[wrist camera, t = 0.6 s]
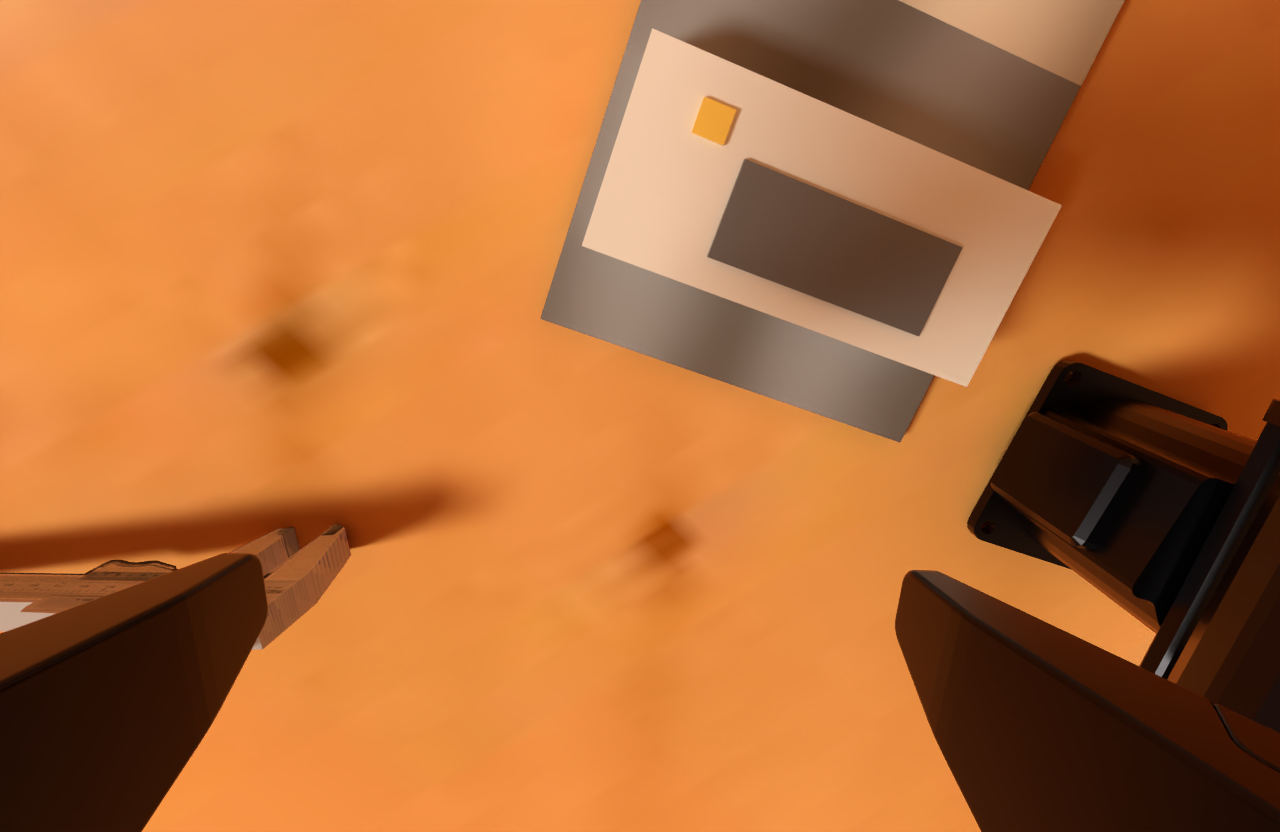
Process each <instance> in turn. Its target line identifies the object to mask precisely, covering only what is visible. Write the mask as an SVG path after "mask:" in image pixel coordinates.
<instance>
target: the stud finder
mask: <svg viewBox="0 0 1280 832" xmlns="http://www.w3.org/2000/svg"><path fill="white" fill-rule="evenodd" d="M1061 207H1062V205H1060V204H1058V203H1056V202H1053V201H1051V200H1049V199H1047V198H1044V197H1042V196H1040V195H1037V194H1035V193H1033V192H1030V191H1028V190H1026V189H1023V188H1021V187H1019V186H1016V185H1014V184H1012V183H1009V182H1007V181H1005V180H1003V179H1000V178H998V177H996V176H993V175H991V174H989V173H986V172H984V171H982V170H979V169H977V168H975V167H972V166H970V165H968V164H965V163H963V162H961V161H959V160H956V159H954V158H952V157H949V156H947V155H945V154H942V153H940V152H938V151H935V150H933V149H931V148H928V147H926V146H924V145H921V144H919V143H917V142H915V141H912V140H910V139H908V138H905V137H903V136H901V135H898V134H896V133H894V132H891V131H889V130H887V129H884V128H882V127H880V126H877V125H875V124H873V123H871V122H868V121H866V120H864V119H861V118H859V117H857V116H854V115H852V114H850V113H847V112H845V111H843V110H840V109H838V108H836V107H834V106H831V105H829V104H827V103H824V102H822V101H820V100H817V99H815V98H813V97H810V96H808V95H806V94H803V93H801V92H799V91H796V90H794V89H792V88H790V87H787V86H785V85H783V84H780V83H778V82H776V81H773V80H771V79H769V78H766V77H764V76H762V75H759V74H757V73H755V72H752V71H750V70H748V69H746V68H743V67H741V66H739V65H736V64H734V63H732V62H729V61H727V60H725V59H722V58H720V57H718V56H715V55H713V54H711V53H708V52H706V51H704V50H702V49H699V48H697V47H695V46H692V45H690V44H688V43H685V42H683V41H681V40H678V39H676V38H674V37H671V36H669V35H667V34H664V33H662V32H660V31H658V30H655V29H653V28H652V31H651V34H650V37H649V40H648V43H647V46H646V49H645V52H644V55H643V58H642V62H641V65H640V68H639V71H638V74H637V77H636V80H635V83H634V86H633V89H632V92H631V95H630V98H629V102H628V105H627V108H626V111H625V114H624V117H623V120H622V123H621V126H620V129H619V132H618V135H617V139H616V142H615V145H614V148H613V151H612V154H611V157H610V160H609V163H608V166H607V169H606V172H605V175H604V179H603V182H602V185H601V188H600V191H599V194H598V197H597V200H596V203H595V206H594V209H593V212H592V215H591V219H590V222H589V225H588V228H587V231H586V234H585V237H584V240H583V243H582V246H583V247H586V248H589V249H592V250H594V251H597V252H600V253H603V254H605V255H608V256H611V257H613V258H616V259H619V260H622V261H624V262H627V263H630V264H633V265H635V266H638V267H641V268H643V269H646V270H649V271H652V272H654V273H657V274H660V275H663V276H665V277H668V278H671V279H673V280H676V281H679V282H682V283H684V284H687V285H690V286H692V287H695V288H698V289H701V290H703V291H706V292H709V293H712V294H714V295H717V296H720V297H722V298H725V299H728V300H731V301H733V302H736V303H739V304H742V305H744V306H747V307H750V308H752V309H755V310H758V311H761V312H763V313H766V314H769V315H772V316H774V317H777V318H780V319H782V320H785V321H788V322H791V323H793V324H796V325H799V326H802V327H804V328H807V329H810V330H812V331H815V332H818V333H821V334H823V335H826V336H829V337H832V338H834V339H837V340H840V341H842V342H845V343H848V344H851V345H853V346H856V347H859V348H862V349H864V350H867V351H870V352H872V353H875V354H878V355H881V356H883V357H886V358H889V359H892V360H894V361H897V362H900V363H902V364H905V365H908V366H911V367H913V368H916V369H919V370H921V371H924V372H927V373H930V374H932V375H935V376H938V377H941V378H943V379H946V380H949V381H951V382H954V383H957V384H960V385H962V386H965V387H967V386H968V384H969V382H970V380H971V378H972V376H973V374H974V372H975V371H976V369H977V367H978V365H979V363H980V361H981V359H982V357H983V355H984V353H985V352H986V350H987V348H988V346H989V344H990V342H991V340H992V338H993V336H994V334H995V332H996V331H997V329H998V327H999V325H1000V323H1001V321H1002V319H1003V317H1004V315H1005V313H1006V311H1007V310H1008V308H1009V306H1010V304H1011V302H1012V300H1013V298H1014V296H1015V294H1016V292H1017V290H1018V289H1019V287H1020V285H1021V283H1022V281H1023V279H1024V277H1025V275H1026V273H1027V271H1028V270H1029V268H1030V266H1031V264H1032V262H1033V260H1034V258H1035V256H1036V254H1037V252H1038V250H1039V249H1040V247H1041V245H1042V243H1043V241H1044V239H1045V237H1046V235H1047V233H1048V231H1049V229H1050V228H1051V226H1052V224H1053V222H1054V220H1055V218H1056V216H1057V214H1058V212H1059V210H1060V208H1061Z"/></svg>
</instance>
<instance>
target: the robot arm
mask: <svg viewBox="0 0 1280 832" xmlns="http://www.w3.org/2000/svg"><path fill="white" fill-rule="evenodd" d="M1071 371H1072V373H1073V374H1072V377H1071V379H1070V380H1069V381H1067V382H1066V380H1065V379H1066V376H1067V375H1068V373H1069V372H1071ZM1263 420H1264V421H1266V422H1267V423H1266V425H1265V427H1264V429H1263V431H1262V433H1261V435H1260V437H1259V439H1258V441H1254V440H1252V439H1249V438H1246V437H1243V436H1240V435H1237V434H1235V433H1232V432H1229V431H1227V423H1226V420H1224V419H1223V418H1222V417H1219V416H1216V415H1214V414H1211V413H1209V412H1206V411H1204V410H1201V409H1198V408H1196V407H1193V406H1191V405H1188V404H1185V403H1183V402H1180V401H1178V400H1175V399H1173V398H1170V397H1167V396H1165V395H1162V394H1160V393H1157V392H1154V391H1152V390H1149V389H1147V388H1144V387H1141V386H1139V385H1136V384H1134V383H1131V382H1129V381H1126V380H1123V379H1121V378H1118V377H1116V376H1113V375H1110V374H1108V373H1105V372H1103V371H1100V370H1098V369H1095V368H1092V367H1090V366H1087V365H1085V364H1082V363H1079V362H1076V361H1072V360H1064V361H1061V362H1059V363H1058V364H1056V365H1055V366H1054V368H1053V369H1052V370H1051V372H1050V374H1049V376H1048V377H1047V379H1046V381H1045V383H1044V385H1043V386H1042V388H1041V390H1040V392H1039V394H1038V395H1037V397H1036V399H1035V401H1034V403H1033V404H1032V406H1031V408H1030V410H1029V411H1028V413H1027V415H1026V417H1025V419H1024V420H1023V422H1022V424H1021V426H1020V428H1019V429H1018V431H1017V433H1016V435H1015V436H1014V438H1013V440H1012V442H1011V444H1010V445H1009V447H1008V449H1007V451H1006V453H1005V454H1004V456H1003V458H1002V460H1001V462H1000V463H999V465H998V467H997V469H996V470H995V472H994V474H993V476H992V478H991V479H990V481H989V483H988V485H987V487H986V488H985V490H984V492H983V494H982V496H981V497H980V499H979V501H978V503H977V504H976V506H975V508H974V510H973V512H972V513H971V515H970V517H969V519H968V522H967V525H968V529H969V531H970V532H971V533H972V534H973V535H974V536H976V537H977V538H978V539H980V540H982V541H986V542H989V543H992V544H995V545H998V546H1001V547H1004V548H1007V549H1010V550H1013V551H1016V552H1020V553H1023V554H1026V555H1029V556H1032V557H1035V558H1038V559H1041V560H1044V561H1047V562H1050V563H1054V564H1057V565H1060V566H1063V567H1066V568H1069V569H1072V570H1073V571H1075V572H1076V573H1077V574H1079V575H1080V576H1081V577H1083V578H1084V579H1085V580H1086V581H1088V582H1089V583H1090V584H1092V585H1093V586H1094V587H1096V588H1097V589H1098V590H1100V591H1101V592H1102V593H1104V594H1105V595H1106V596H1108V597H1109V598H1110V599H1111V600H1113V601H1114V602H1115V603H1117V604H1118V605H1119V606H1121V607H1122V608H1123V609H1125V610H1126V611H1127V612H1129V613H1130V614H1131V615H1132V616H1134V617H1135V618H1136V619H1138V620H1139V621H1140V622H1142V623H1143V624H1144V625H1146V626H1147V627H1148V628H1150V629H1151V630H1152V631H1153V632H1155V633H1156V635H1155V637H1154V639H1153V641H1152V643H1151V645H1150V647H1149V649H1148V651H1147V652H1146V654H1145V656H1144V658H1143V660H1142V662H1141V664H1140V666H1137V665H1135V664H1133V663H1131V662H1129V661H1127V660H1124V659H1122V658H1120V657H1118V656H1116V655H1114V654H1112V653H1110V652H1108V651H1105V650H1103V649H1101V648H1099V647H1097V646H1095V645H1093V644H1091V643H1089V642H1086V641H1084V640H1082V639H1080V638H1078V637H1076V636H1074V635H1072V634H1070V633H1067V632H1065V631H1063V630H1061V629H1059V628H1057V627H1055V626H1053V625H1051V624H1048V623H1046V622H1044V621H1042V620H1040V619H1038V618H1036V617H1034V616H1032V615H1029V614H1027V613H1025V612H1023V611H1021V610H1019V609H1017V608H1015V607H1012V606H1010V605H1008V604H1006V603H1004V602H1002V601H1000V600H998V599H996V598H993V597H991V596H989V595H987V594H985V593H983V592H981V591H979V590H977V589H974V588H972V587H970V586H968V585H966V584H964V583H962V582H960V581H958V580H955V579H953V578H951V577H949V576H947V575H945V574H943V573H941V572H938V571H928V570H912V571H909V572H908V573H907V574H906V575H905V577H904V579H903V583H902V588H901V593H900V598H899V604H898V609H897V614H896V620H895V630H896V636H897V639H898V642H899V645H900V647H901V650H902V653H903V655H904V658H905V661H906V663H907V666H908V669H909V671H910V674H911V677H912V679H913V682H914V685H915V687H916V690H917V693H918V695H919V698H920V701H921V703H922V706H923V709H924V712H925V714H926V717H927V720H928V722H929V724H930V727H931V729H932V732H933V734H934V737H935V739H936V741H937V743H938V745H939V747H940V749H941V751H942V753H943V756H944V758H945V760H946V762H947V764H948V766H949V768H950V770H951V772H952V774H953V776H954V778H955V780H956V782H957V784H958V786H959V788H960V790H961V792H962V794H963V796H964V798H965V800H966V802H967V804H968V806H969V808H970V810H971V812H972V814H973V816H974V818H975V820H976V822H977V824H978V826H979V828H980V830H981V832H1280V400H1276V399H1273V401H1272V403H1271V404H1270V406H1269V408H1268V410H1267V412H1266V414H1265V416H1264V418H1263ZM986 521H989V522H988V525H987V526H986V527H984V528H982V529H981V526H982V524H983V523H984V522H986ZM267 614H268V602H267V596H266V589H265V583H264V576H263V569H262V564H261V561H260V559H259V558H258V557H257V556H256V555H254V554H250V553H223V554H220V555H217V556H214V557H211V558H209V559H206V560H203V561H200V562H198V563H195V564H192V565H189V566H187V567H184V568H181V569H178V570H175V571H173V572H170V573H167V574H164V575H162V576H159V577H156V578H153V579H151V580H148V581H145V582H142V583H139V584H137V585H134V586H131V587H128V588H126V589H123V590H120V591H117V592H115V593H112V594H109V595H106V596H103V597H101V598H98V599H95V600H92V601H90V602H87V603H84V604H81V605H78V606H76V607H73V608H70V609H67V610H65V611H62V612H59V613H56V614H54V615H51V616H48V617H45V618H42V619H40V620H37V621H34V622H31V623H29V624H26V625H23V626H20V627H18V628H15V629H12V630H9V631H6V632H4V633H1V634H0V832H142V830H143V829H144V827H145V826H146V824H147V823H148V821H149V820H150V818H151V817H152V815H153V814H154V812H155V811H156V809H157V808H158V806H159V804H160V803H161V801H162V800H163V798H164V797H165V795H166V794H167V792H168V791H169V789H170V788H171V786H172V785H173V783H174V782H175V780H176V779H177V777H178V776H179V774H180V773H181V771H182V770H183V768H184V767H185V765H186V764H187V762H188V761H189V759H190V757H191V756H192V754H193V753H194V751H195V750H196V748H197V747H198V745H199V744H200V742H201V741H202V739H203V737H204V736H205V734H206V733H207V731H208V729H209V728H210V726H211V725H212V723H213V721H214V719H215V717H216V716H217V714H218V712H219V710H220V709H221V707H222V705H223V703H224V701H225V699H226V697H227V695H228V694H229V692H230V690H231V688H232V686H233V684H234V682H235V680H236V678H237V676H238V674H239V673H240V671H241V669H242V667H243V665H244V663H245V661H246V659H247V657H248V655H249V654H250V652H251V650H252V648H253V646H254V644H255V642H256V640H257V638H258V636H259V635H260V633H261V631H262V629H263V627H264V625H265V622H266V619H267Z"/></svg>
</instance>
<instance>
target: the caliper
mask: <svg viewBox="0 0 1280 832" xmlns="http://www.w3.org/2000/svg"><path fill="white" fill-rule="evenodd" d="M229 553H250V554H254V555H256V556H257V557H258V558H259V559H260V561H261V564H262V569H263V576H264V583H265V589H266V596H267V602H268V614H267V619H266V622H265V625H264V627H263V629H262V631H261V633H260V635H259V636H258V638H257V640H256V642H255V644H254V646H253V648H252V649H264V648H265V647H266V646H267V645H268V644H269V643H271V642H272V641H273V640H274V639H275V638H276V637H278V636H279V635H280V634H281V633H282V632H283V631H285V630H286V629H287V628H288V627H289V626H291V625H292V624H293V623H294V622H295V621H296V620H298V619H299V618H300V617H301V616H302V615H303V614H305V613H306V612H307V611H308V610H309V609H310V608H312V607H313V606H314V605H315V604H316V603H317V602H318V600H319V599H320V598H321V596H322V595H323V593H324V592H325V591H326V589H327V588H328V587H329V585H330V584H331V583H332V581H333V580H334V578H335V577H336V576H337V574H338V573H339V572H340V570H341V569H342V568H343V566H344V565H345V563H346V562H347V560H348V559H349V557H350V556H351V552H350V548H349V544H348V539H347V535H346V531H345V528H344V527H343V526H342V525H338V524H334V525H332V526H331V527H330V528H329V529H327V530H326V531H325V532H323V533H322V534H321V535H319V536H318V537H317V538H315V539H314V540H313V541H311V542H310V543H309V544H307V545H306V546H305V547H303V548H302V549H300V548H299V544H298V540H297V536H296V532H295V529H294V527H290V528H278V529H276V530H274V531H272V532H270V533H268V534H266V535H263V536H261V537H259V538H257V539H255V540H253V541H251V542H249V543H247V544H245V545H243V546H241V547H239V548H237V549H235V550H233V551H231V552H229ZM175 570H178V569H176V566H173V565H170V564H166V563H163V562H160V561H145V562H138V563H135V562H128V561H124V560H111V561H108V562H105V563H103V564H102V565H100V566H98V567H96V568H94V569H92V570H90V571H89V572H87V573H85V574H51V573H0V631H5V632H6V631H9V630H12V629H15V628H18V627H20V626H23V625H26V624H29V623H31V622H34V621H37V620H40V619H42V618H45V617H48V616H51V615H54V614H56V613H59V612H62V611H65V610H67V609H70V608H73V607H76V606H78V605H81V604H84V603H87V602H90V601H92V600H95V599H98V598H101V597H103V596H106V595H109V594H112V593H115V592H117V591H120V590H123V589H126V588H128V587H131V586H134V585H137V584H139V583H142V582H145V581H148V580H151V579H153V578H156V577H159V576H162V575H164V574H167V573H170V572H173V571H175Z"/></svg>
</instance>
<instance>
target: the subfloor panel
mask: <svg viewBox="0 0 1280 832" xmlns="http://www.w3.org/2000/svg"><path fill="white" fill-rule="evenodd" d="M1124 1H1125V0H641V3H640V6H639V9H638V12H637V15H636V19H635V22H634V25H633V28H632V31H631V34H630V38H629V41H628V44H627V47H626V50H625V53H624V56H623V60H622V63H621V66H620V69H619V72H618V75H617V79H616V82H615V85H614V88H613V91H612V94H611V97H610V101H609V104H608V107H607V110H606V113H605V116H604V120H603V123H602V126H601V129H600V132H599V135H598V139H597V142H596V145H595V148H594V151H593V154H592V157H591V161H590V164H589V167H588V170H587V173H586V176H585V180H584V183H583V186H582V189H581V192H580V195H579V198H578V202H577V205H576V208H575V211H574V214H573V217H572V221H571V224H570V227H569V230H568V233H567V236H566V240H565V243H564V246H563V249H562V252H561V255H560V258H559V262H558V265H557V268H556V271H555V274H554V277H553V281H552V284H551V287H550V290H549V293H548V296H547V299H546V303H545V306H544V309H543V312H542V315H541V318H540V319H543V320H546V321H548V322H551V323H554V324H557V325H560V326H563V327H566V328H569V329H572V330H575V331H578V332H580V333H583V334H586V335H589V336H592V337H595V338H598V339H601V340H604V341H607V342H610V343H612V344H615V345H618V346H621V347H624V348H627V349H630V350H633V351H636V352H639V353H642V354H644V355H647V356H650V357H653V358H656V359H659V360H662V361H665V362H668V363H671V364H674V365H676V366H679V367H682V368H685V369H688V370H691V371H694V372H697V373H700V374H703V375H705V376H708V377H711V378H714V379H717V380H720V381H723V382H726V383H729V384H732V385H735V386H737V387H740V388H743V389H746V390H749V391H752V392H755V393H758V394H761V395H764V396H767V397H769V398H772V399H775V400H778V401H781V402H784V403H787V404H790V405H793V406H796V407H799V408H801V409H804V410H807V411H810V412H813V413H816V414H819V415H822V416H825V417H828V418H830V419H833V420H836V421H839V422H842V423H845V424H848V425H851V426H854V427H857V428H860V429H862V430H865V431H868V432H871V433H874V434H877V435H880V436H883V437H886V438H889V439H892V440H894V441H897V442H901V440H902V438H903V436H904V434H905V432H906V430H907V428H908V426H909V424H910V422H911V420H912V418H913V416H914V415H915V413H916V411H917V409H918V407H919V405H920V403H921V401H922V399H923V397H924V395H925V393H926V391H927V389H928V387H929V385H930V383H931V381H932V379H933V377H934V375H932V374H930V373H927V372H924V371H921V370H919V369H916V368H913V367H911V366H908V365H905V364H902V363H900V362H897V361H894V360H892V359H889V358H886V357H883V356H881V355H878V354H875V353H872V352H870V351H867V350H864V349H862V348H859V347H856V346H853V345H851V344H848V343H845V342H842V341H840V340H837V339H834V338H832V337H829V336H826V335H823V334H821V333H818V332H815V331H812V330H810V329H807V328H804V327H802V326H799V325H796V324H793V323H791V322H788V321H785V320H782V319H780V318H777V317H774V316H772V315H769V314H766V313H763V312H761V311H758V310H755V309H752V308H750V307H747V306H744V305H742V304H739V303H736V302H733V301H731V300H728V299H725V298H722V297H720V296H717V295H714V294H712V293H709V292H706V291H703V290H701V289H698V288H695V287H692V286H690V285H687V284H684V283H682V282H679V281H676V280H673V279H671V278H668V277H665V276H663V275H660V274H657V273H654V272H652V271H649V270H646V269H643V268H641V267H638V266H635V265H633V264H630V263H627V262H624V261H622V260H619V259H616V258H613V257H611V256H608V255H605V254H603V253H600V252H597V251H594V250H592V249H589V248H586V247H583V246H582V243H583V240H584V237H585V234H586V231H587V228H588V225H589V222H590V219H591V215H592V212H593V209H594V206H595V203H596V200H597V197H598V194H599V191H600V188H601V185H602V182H603V179H604V175H605V172H606V169H607V166H608V163H609V160H610V157H611V154H612V151H613V148H614V145H615V142H616V139H617V135H618V132H619V129H620V126H621V123H622V120H623V117H624V114H625V111H626V108H627V105H628V102H629V98H630V95H631V92H632V89H633V86H634V83H635V80H636V77H637V74H638V71H639V68H640V65H641V62H642V58H643V55H644V52H645V49H646V46H647V43H648V40H649V37H650V34H651V31H652V28H653V29H655V30H658V31H660V32H662V33H664V34H667V35H669V36H671V37H674V38H676V39H678V40H681V41H683V42H685V43H688V44H690V45H692V46H695V47H697V48H699V49H702V50H704V51H706V52H708V53H711V54H713V55H715V56H718V57H720V58H722V59H725V60H727V61H729V62H732V63H734V64H736V65H739V66H741V67H743V68H746V69H748V70H750V71H752V72H755V73H757V74H759V75H762V76H764V77H766V78H769V79H771V80H773V81H776V82H778V83H780V84H783V85H785V86H787V87H790V88H792V89H794V90H796V91H799V92H801V93H803V94H806V95H808V96H810V97H813V98H815V99H817V100H820V101H822V102H824V103H827V104H829V105H831V106H834V107H836V108H838V109H840V110H843V111H845V112H847V113H850V114H852V115H854V116H857V117H859V118H861V119H864V120H866V121H868V122H871V123H873V124H875V125H877V126H880V127H882V128H884V129H887V130H889V131H891V132H894V133H896V134H898V135H901V136H903V137H905V138H908V139H910V140H912V141H915V142H917V143H919V144H921V145H924V146H926V147H928V148H931V149H933V150H935V151H938V152H940V153H942V154H945V155H947V156H949V157H952V158H954V159H956V160H959V161H961V162H963V163H965V164H968V165H970V166H972V167H975V168H977V169H979V170H982V171H984V172H986V173H989V174H991V175H993V176H996V177H998V178H1000V179H1003V180H1005V181H1007V182H1009V183H1012V184H1014V185H1016V186H1019V187H1021V188H1023V189H1026V190H1028V189H1029V187H1030V185H1031V184H1032V182H1033V180H1034V178H1035V176H1036V174H1037V172H1038V170H1039V168H1040V166H1041V164H1042V162H1043V160H1044V158H1045V156H1046V154H1047V152H1048V150H1049V148H1050V146H1051V144H1052V142H1053V140H1054V138H1055V136H1056V134H1057V132H1058V130H1059V128H1060V126H1061V124H1062V122H1063V120H1064V118H1065V116H1066V114H1067V112H1068V110H1069V108H1070V106H1071V105H1072V103H1073V101H1074V99H1075V97H1076V95H1077V93H1078V91H1079V89H1080V87H1081V86H1082V84H1083V82H1084V80H1085V78H1086V76H1087V74H1088V72H1089V70H1090V68H1091V66H1092V64H1093V62H1094V60H1095V58H1096V56H1097V54H1098V52H1099V50H1100V48H1101V46H1102V44H1103V42H1104V40H1105V38H1106V36H1107V34H1108V32H1109V30H1110V28H1111V26H1112V24H1113V23H1114V21H1115V19H1116V17H1117V15H1118V13H1119V11H1120V9H1121V7H1122V5H1123V3H1124Z"/></svg>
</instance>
